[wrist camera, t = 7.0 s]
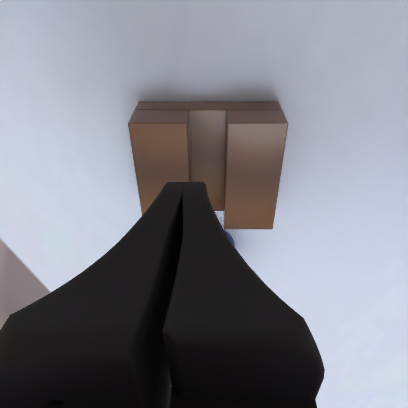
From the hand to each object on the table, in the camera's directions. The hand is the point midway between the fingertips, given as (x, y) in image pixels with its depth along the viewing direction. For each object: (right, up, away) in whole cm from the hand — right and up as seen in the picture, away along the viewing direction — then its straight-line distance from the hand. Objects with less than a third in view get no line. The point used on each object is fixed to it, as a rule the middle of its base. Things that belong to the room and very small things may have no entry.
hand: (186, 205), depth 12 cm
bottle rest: (+1, +3, +9) cm, 10 cm away
